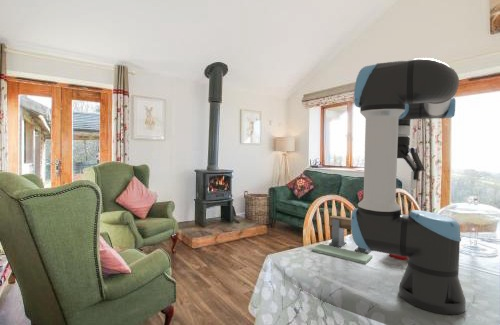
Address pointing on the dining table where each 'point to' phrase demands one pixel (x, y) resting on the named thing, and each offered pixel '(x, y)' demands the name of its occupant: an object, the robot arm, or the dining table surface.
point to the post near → (362, 250)
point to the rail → (341, 221)
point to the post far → (337, 234)
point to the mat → (343, 253)
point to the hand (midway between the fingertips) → (397, 186)
